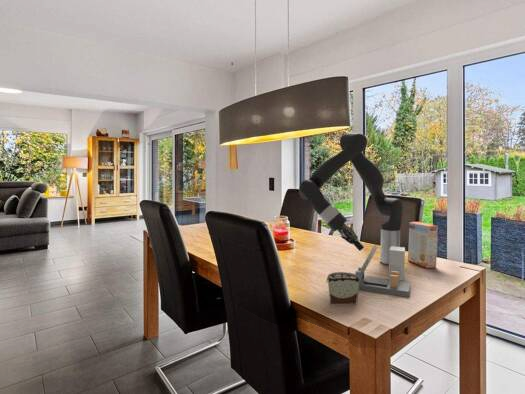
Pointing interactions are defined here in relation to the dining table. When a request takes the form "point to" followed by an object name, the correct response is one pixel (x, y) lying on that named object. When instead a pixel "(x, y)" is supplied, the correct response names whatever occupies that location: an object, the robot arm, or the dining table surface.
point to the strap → (368, 259)
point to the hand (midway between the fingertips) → (362, 249)
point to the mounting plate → (384, 284)
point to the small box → (397, 261)
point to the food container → (343, 288)
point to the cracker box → (423, 244)
